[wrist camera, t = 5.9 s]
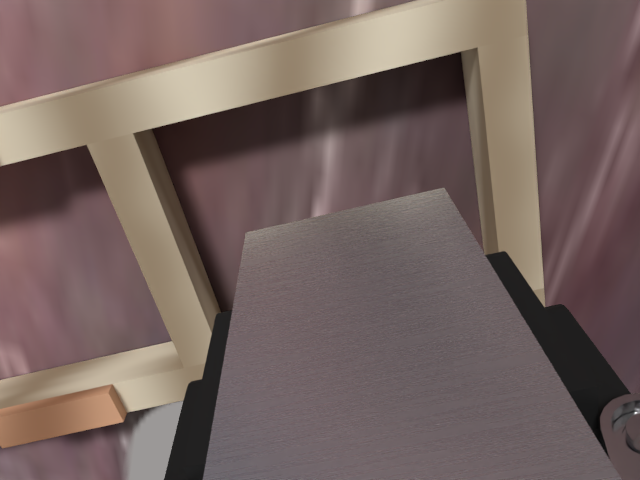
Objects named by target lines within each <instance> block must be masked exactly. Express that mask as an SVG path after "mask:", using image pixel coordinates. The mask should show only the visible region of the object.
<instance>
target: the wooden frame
mask: <svg viewBox="0 0 640 480" xmlns="http://www.w3.org/2000/svg"><path fill="white" fill-rule="evenodd" d="M457 52H461V57H462V66H463V74H464V83H465V92H466V100H467V109H468V118H469V126H470V135H471V143H472V152H473V161H474V169H475V178H476V187H477V195H478V204H479V213H480V221H481V230H482V239H483V247H484V254H485V255H488V254H493V253H497V252H502V251H506V252H507V253H508V255H509V256H510V258H511V259H512V261H513V262H514V264H515V265H516V267H517V268H518V269H519V271H520V272H521V274H522V275H523V277H524V278H525V280H526V281H527V283H528V284H529V286H530V287H531V288H532V290H533V291H534V293H535V294H536V296H537V297H538V299H539V300H540V302H541V303H542V304H543V306H544V307H545V296H544V281H543V265H542V249H541V233H540V217H539V201H538V185H537V169H536V154H535V138H534V122H533V106H532V90H531V74H530V58H529V42H528V27H527V11H526V0H416V1H412V2H408V3H404V4H400V5H396V6H393V7H389V8H385V9H381V10H377V11H373V12H369V13H365V14H361V15H357V16H353V17H349V18H346V19H342V20H338V21H334V22H330V23H326V24H322V25H318V26H314V27H310V28H306V29H303V30H299V31H295V32H291V33H287V34H283V35H279V36H275V37H271V38H267V39H263V40H259V41H256V42H252V43H248V44H244V45H240V46H236V47H232V48H228V49H224V50H220V51H216V52H213V53H209V54H205V55H201V56H197V57H193V58H189V59H185V60H181V61H177V62H173V63H169V64H166V65H162V66H158V67H154V68H150V69H146V70H142V71H138V72H134V73H130V74H126V75H123V76H119V77H115V78H111V79H107V80H103V81H99V82H95V83H91V84H87V85H83V86H79V87H76V88H72V89H68V90H64V91H60V92H56V93H52V94H48V95H44V96H40V97H36V98H33V99H29V100H25V101H21V102H17V103H13V104H9V105H5V106H1V107H0V166H3V165H7V164H11V163H15V162H19V161H23V160H27V159H31V158H35V157H39V156H43V155H47V154H51V153H55V152H59V151H63V150H67V149H71V148H75V147H80V146H84V145H87V146H88V149H89V151H90V153H91V156H92V158H93V160H94V163H95V165H96V167H97V169H98V172H99V174H100V176H101V179H102V181H103V183H104V185H105V188H106V190H107V192H108V195H109V197H110V199H111V202H112V204H113V206H114V208H115V211H116V213H117V215H118V218H119V220H120V222H121V224H122V227H123V229H124V231H125V234H126V236H127V238H128V241H129V243H130V245H131V247H132V250H133V252H134V254H135V257H136V259H137V261H138V263H139V266H140V268H141V270H142V273H143V275H144V277H145V280H146V282H147V284H148V286H149V289H150V291H151V293H152V296H153V298H154V300H155V302H156V305H157V307H158V309H159V312H160V314H161V316H162V319H163V321H164V323H165V325H166V328H167V330H168V332H169V335H170V337H171V339H172V341H171V342H167V343H162V344H158V345H153V346H149V347H145V348H140V349H136V350H131V351H127V352H122V353H118V354H113V355H109V356H105V357H100V358H96V359H91V360H87V361H82V362H78V363H74V364H69V365H65V366H60V367H56V368H51V369H47V370H43V371H38V372H34V373H29V374H25V375H20V376H16V377H11V378H7V379H3V380H0V446H1V447H2V448H7V447H11V446H16V445H20V444H25V443H29V442H34V441H39V440H43V439H48V438H52V437H57V436H62V435H66V434H71V433H75V432H80V431H85V430H89V429H94V428H98V427H103V426H108V425H112V424H117V423H121V422H124V420H125V417H126V414H127V413H128V412H133V411H137V410H142V409H146V408H151V407H155V406H160V405H165V404H169V403H174V402H178V401H183V400H184V397H185V393H186V389H187V387H188V384H189V383H190V382H191V381H195V380H200V379H202V376H203V372H204V367H205V363H206V358H207V353H208V349H209V344H210V339H211V335H212V330H213V326H214V321H215V317H216V314H218V313H221V311H220V308H219V305H218V303H217V300H216V298H215V295H214V292H213V290H212V287H211V284H210V282H209V279H208V276H207V274H206V271H205V268H204V266H203V263H202V260H201V258H200V255H199V252H198V250H197V247H196V244H195V242H194V239H193V236H192V234H191V231H190V229H189V226H188V223H187V221H186V218H185V215H184V213H183V210H182V207H181V205H180V202H179V199H178V197H177V194H176V191H175V189H174V186H173V183H172V181H171V178H170V175H169V173H168V170H167V167H166V165H165V162H164V159H163V157H162V154H161V152H160V149H159V146H158V144H157V141H156V138H155V136H154V133H153V130H152V128H156V127H160V126H164V125H168V124H172V123H176V122H180V121H184V120H188V119H192V118H196V117H200V116H204V115H208V114H212V113H216V112H220V111H224V110H228V109H232V108H236V107H240V106H244V105H248V104H252V103H256V102H260V101H264V100H268V99H272V98H276V97H280V96H284V95H288V94H292V93H296V92H300V91H304V90H308V89H312V88H316V87H320V86H324V85H329V84H333V83H337V82H341V81H345V80H349V79H353V78H357V77H361V76H365V75H369V74H373V73H377V72H381V71H385V70H389V69H393V68H397V67H401V66H405V65H409V64H413V63H417V62H421V61H425V60H429V59H433V58H437V57H441V56H445V55H449V54H453V53H457Z"/></svg>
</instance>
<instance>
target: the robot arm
mask: <svg viewBox="0 0 640 480" xmlns="http://www.w3.org/2000/svg"><path fill="white" fill-rule="evenodd" d="M485 256H486V257H487V259H488V261H489V262H490V264H491V266H492V267H493V269H494V271H495V272H496V274H497V275H498V277H499V279H500V280H501V282H502V284H503V285H504V287H505V289H506V290H507V292H508V294H509V295H510V297H511V298H512V300H513V302H514V303H515V305H516V307H517V308H518V310H519V312H520V313H521V315H522V317H523V318H524V320H525V321H526V323H527V325H528V326H529V328H530V330H531V331H532V333H533V335H534V336H535V338H536V340H537V341H538V343H539V344H540V346H541V348H542V349H543V351H544V353H545V354H546V356H547V358H548V359H549V361H550V363H551V364H552V366H553V367H554V369H555V371H556V372H557V374H558V376H559V377H560V379H561V381H562V382H563V384H564V386H565V387H566V389H567V390H568V392H569V394H570V395H571V397H572V399H573V400H574V402H575V404H576V405H577V407H578V409H579V410H580V412H581V414H582V415H583V417H584V418H585V420H586V422H587V423H588V425H589V427H590V428H591V430H592V432H593V433H594V435H595V437H596V438H597V440H598V441H599V443H600V445H601V446H602V448H603V450H604V451H605V453H606V455H607V456H608V458H609V460H610V461H611V463H612V464H613V466H614V468H615V469H616V471H617V473H618V474H619V476H620V478H621V479H622V480H640V393H634V394H631V393H630V392H629V391H628V389H627V388H626V387H625V385H624V384H623V383H622V381H621V380H620V379H619V377H618V376H617V375H616V373H615V372H614V371H613V369H612V368H611V366H610V365H609V364H608V362H607V361H606V360H605V358H604V357H603V356H602V354H601V353H600V352H599V350H598V349H597V348H596V346H595V345H594V344H593V342H592V341H591V340H590V338H589V337H588V336H587V334H586V333H585V332H584V330H583V329H582V328H581V326H580V325H579V324H578V322H577V321H576V320H575V318H574V317H573V316H572V314H571V313H570V312H569V310H568V309H567V308H566V307H565V306H564V305H561V304H558V305H554V306H549V307H544V306H543V304H542V303H541V302H540V300H539V299H538V297H537V296H536V294H535V293H534V291H533V290H532V288H531V287H530V286H529V284H528V283H527V281H526V280H525V278H524V277H523V275H522V274H521V272H520V271H519V269H518V268H517V267H516V265H515V264H514V262H513V261H512V259H511V258H510V256H509V255H508V253H507V252H506V251H502V252H497V253H493V254H488V255H485ZM231 315H232V310H231V311H226V312H222V313H218V314H216V317H215V321H214V326H213V330H212V335H211V339H210V344H209V349H208V353H207V358H206V363H205V367H204V372H203V376H202V379H200V380H195V381H191V382H190V383H189V384H188V387H187V389H186V393H185V397H184V401H183V405H182V410H181V413H180V417H179V421H178V425H177V430H176V434H175V438H174V442H173V446H172V450H171V454H170V458H169V462H168V467H167V470H166V474H165V478H164V480H203V476H204V470H205V464H206V458H207V453H208V447H209V441H210V436H211V430H212V424H213V418H214V413H215V407H216V401H217V395H218V390H219V384H220V378H221V373H222V367H223V361H224V355H225V350H226V344H227V338H228V332H229V327H230V321H231Z"/></svg>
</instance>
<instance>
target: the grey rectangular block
mask: <svg viewBox="0 0 640 480" xmlns="http://www.w3.org/2000/svg"><path fill="white" fill-rule="evenodd" d="M203 480H622V479H621V478H620V476H619V474H618V473H617V471H616V469H615V468H614V466H613V464H612V463H611V461H610V460H609V458H608V456H607V455H606V453H605V451H604V450H603V448H602V446H601V445H600V443H599V441H598V440H597V438H596V437H595V435H594V433H593V432H592V430H591V428H590V427H589V425H588V423H587V422H586V420H585V418H584V417H583V415H582V414H581V412H580V410H579V409H578V407H577V405H576V404H575V402H574V400H573V399H572V397H571V395H570V394H569V392H568V390H567V389H566V387H565V386H564V384H563V382H562V381H561V379H560V377H559V376H558V374H557V372H556V371H555V369H554V367H553V366H552V364H551V363H550V361H549V359H548V358H547V356H546V354H545V353H544V351H543V349H542V348H541V346H540V344H539V343H538V341H537V340H536V338H535V336H534V335H533V333H532V331H531V330H530V328H529V326H528V325H527V323H526V321H525V320H524V318H523V317H522V315H521V313H520V312H519V310H518V308H517V307H516V305H515V303H514V302H513V300H512V298H511V297H510V295H509V294H508V292H507V290H506V289H505V287H504V285H503V284H502V282H501V280H500V279H499V277H498V275H497V274H496V272H495V271H494V269H493V267H492V266H491V264H490V262H489V261H488V259H487V257H486V256H485V254H484V252H483V251H482V249H481V248H480V246H479V244H478V243H477V241H476V239H475V238H474V236H473V234H472V233H471V231H470V229H469V228H468V226H467V225H466V223H465V221H464V220H463V218H462V216H461V215H460V213H459V211H458V210H457V208H456V206H455V205H454V203H453V202H452V200H451V198H450V197H449V195H448V193H447V192H446V190H445V188H440V189H436V190H432V191H427V192H423V193H418V194H414V195H410V196H405V197H401V198H396V199H392V200H388V201H383V202H379V203H374V204H370V205H366V206H361V207H357V208H352V209H348V210H343V211H339V212H335V213H330V214H326V215H321V216H317V217H313V218H308V219H304V220H299V221H295V222H291V223H286V224H282V225H277V226H273V227H268V228H264V229H260V230H255V231H251V232H246V235H245V241H244V246H243V252H242V258H241V264H240V269H239V275H238V281H237V287H236V292H235V298H234V304H233V309H232V315H231V321H230V327H229V332H228V338H227V344H226V350H225V355H224V361H223V367H222V373H221V378H220V384H219V390H218V395H217V401H216V407H215V413H214V418H213V424H212V430H211V436H210V441H209V447H208V453H207V458H206V464H205V470H204V476H203Z"/></svg>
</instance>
